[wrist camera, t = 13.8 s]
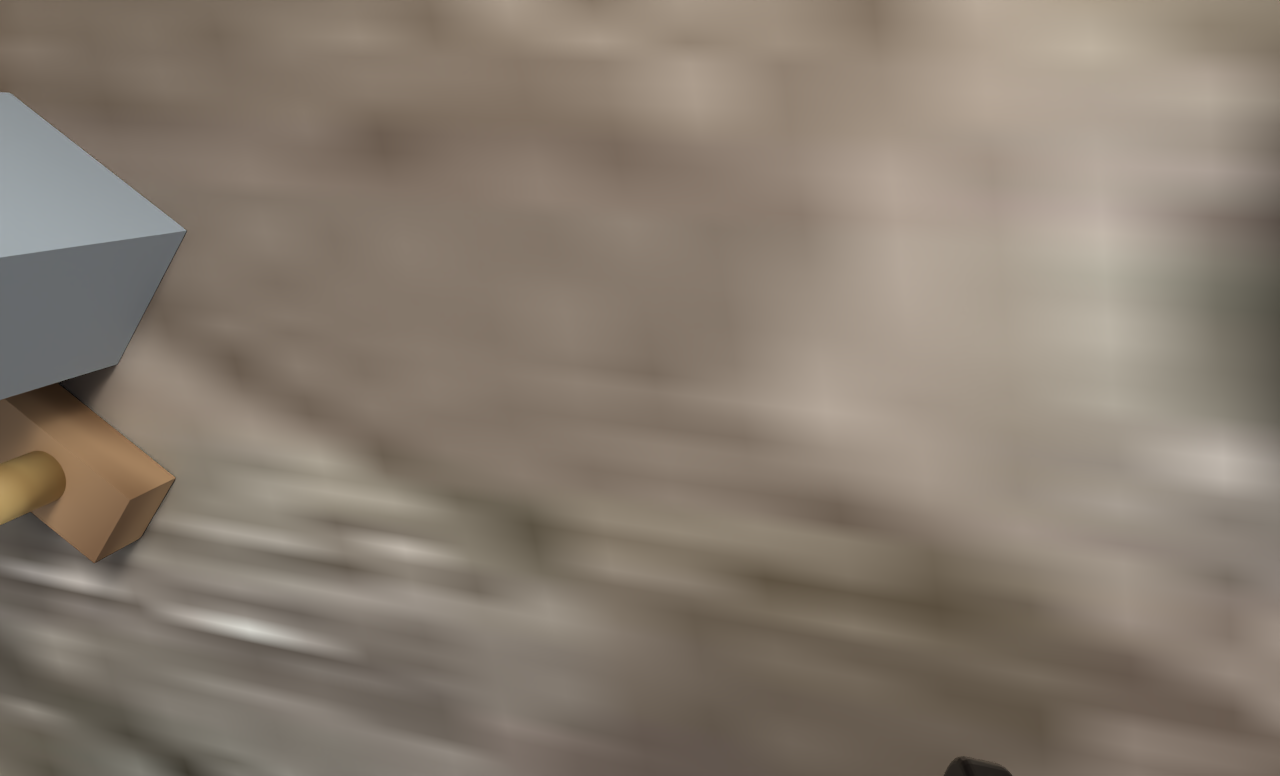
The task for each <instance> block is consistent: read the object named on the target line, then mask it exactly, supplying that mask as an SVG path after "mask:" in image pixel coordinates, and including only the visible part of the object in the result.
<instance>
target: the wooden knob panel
mask: <svg viewBox="0 0 1280 776" xmlns="http://www.w3.org/2000/svg"><path fill="white" fill-rule="evenodd" d="M174 480H175V477H174V476H173V475H171V474H170V473H169V472H168V471H166V470H165V469H164V468H163V467H161V466H160V465H159V464H158V463H156V462H155V461H154V460H153V459H152V458H150V457H149V456H148V455H147V454H145V453H144V452H143V451H142V450H140V449H139V448H138V447H137V446H135V445H134V444H133V443H132V442H130V441H129V440H128V439H127V438H125V437H124V436H123V435H122V434H120V433H119V432H118V431H117V430H115V429H114V428H113V427H112V426H110V425H109V424H108V423H107V422H105V421H104V420H103V419H102V418H100V417H99V416H98V415H97V414H95V413H94V412H93V411H92V410H90V409H89V408H88V407H87V406H85V405H84V404H83V403H82V402H80V401H79V400H78V399H77V398H76V397H74V396H73V395H72V394H71V393H69V392H68V391H67V390H66V389H64V388H63V387H62V386H61V385H59V384H58V383H54V384H51V385H47V386H44V387H41V388H38V389H34V390H31V391H28V392H24V393H21V394H18V395H14V396H11V397H8V398H5V399H1V400H0V525H2V524H4V523H6V522H9V521H11V520H13V519H15V518H18V517H20V516H22V515H24V514H27V513H29V512H31V513H33V514H34V515H35V516H36V517H38V518H39V519H40V520H41V521H43V522H44V523H45V524H46V525H48V526H49V527H50V528H51V529H53V530H54V531H55V532H56V533H57V534H59V535H60V536H61V537H62V538H64V539H65V540H66V541H67V542H69V543H70V544H71V545H72V546H74V547H75V548H76V549H77V550H78V551H80V552H81V553H82V554H83V555H85V556H86V557H87V558H88V559H90V560H91V561H92V562H93V563H96V562H97V561H99V560H101V559H103V558H105V557H107V556H108V555H110V554H112V553H114V552H116V551H118V550H119V549H121V548H123V547H125V546H127V545H129V544H130V543H132V542H134V541H136V540H138V539H139V538H141V536H142V535H143V533H144V531H145V529H146V528H147V526H148V524H149V523H150V521H151V519H152V517H153V516H154V514H155V512H156V511H157V509H158V507H159V505H160V504H161V502H162V500H163V499H164V497H165V495H166V493H167V492H168V490H169V488H170V486H171V485H172V483H173V481H174Z"/></svg>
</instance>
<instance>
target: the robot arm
mask: <svg viewBox="0 0 1280 776" xmlns="http://www.w3.org/2000/svg"><path fill="white" fill-rule="evenodd" d="M944 776H1012V774H1011V773H1010V772H1009V771H1008V770H1007V769H1006V768H1004V767H1003V766H1002V765H999V764H997V763H993V762H989V761H984V760H979V759H975V758H970V757H965V756H962V757H957V758H955V759H954V760H953V761H952V762H951V763H950V765H949V766H948V768H947V770H946V772H945V774H944Z"/></svg>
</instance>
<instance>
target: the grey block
mask: <svg viewBox="0 0 1280 776" xmlns="http://www.w3.org/2000/svg"><path fill="white" fill-rule="evenodd" d="M185 233H186V230H185V229H184V228H183V227H181V226H180V225H179V224H178V223H176V222H175V221H174V220H172V219H171V218H170V217H169V216H167V215H166V214H165V213H163V212H162V211H161V210H160V209H158V208H157V207H156V206H154V205H153V204H152V203H151V202H149V201H148V200H147V199H145V198H144V197H143V196H142V195H140V194H139V193H138V192H136V191H135V190H134V189H133V188H131V187H130V186H129V185H128V184H126V183H125V182H124V181H122V180H121V179H120V178H119V177H117V176H116V175H115V174H113V173H112V172H111V171H110V170H108V169H107V168H106V167H104V166H103V165H102V164H101V163H99V162H98V161H97V160H95V159H94V158H93V157H92V156H90V155H89V154H88V153H86V152H85V151H84V150H83V149H81V148H80V147H79V146H78V145H76V144H75V143H74V142H72V141H71V140H70V139H69V138H67V137H66V136H65V135H63V134H62V133H61V132H60V131H58V130H57V129H56V128H54V127H53V126H52V125H51V124H49V123H48V122H47V121H45V120H44V119H43V118H42V117H40V116H39V115H38V114H36V113H35V112H34V111H33V110H31V109H30V108H29V107H28V106H26V105H25V104H24V103H22V102H21V101H20V100H19V99H17V98H16V97H15V96H13V95H12V94H11V93H6V92H0V400H1V399H5V398H8V397H11V396H14V395H18V394H21V393H24V392H28V391H31V390H34V389H38V388H41V387H44V386H47V385H51V384H54V383H57V382H61V381H64V380H67V379H70V378H74V377H77V376H80V375H84V374H87V373H90V372H93V371H97V370H100V369H103V368H107V367H110V366H113V365H116V364H118V362H119V360H120V358H121V356H122V355H123V353H124V351H125V349H126V347H127V345H128V343H129V341H130V339H131V337H132V335H133V333H134V331H135V329H136V328H137V326H138V324H139V322H140V320H141V318H142V316H143V314H144V312H145V310H146V308H147V306H148V304H149V302H150V301H151V299H152V297H153V295H154V293H155V291H156V289H157V287H158V285H159V283H160V281H161V279H162V277H163V275H164V274H165V272H166V270H167V268H168V266H169V264H170V262H171V260H172V258H173V256H174V254H175V252H176V250H177V248H178V247H179V245H180V243H181V241H182V239H183V237H184V235H185Z"/></svg>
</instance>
